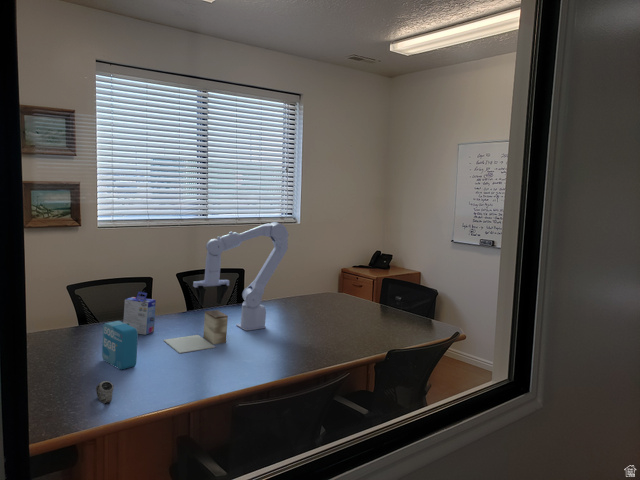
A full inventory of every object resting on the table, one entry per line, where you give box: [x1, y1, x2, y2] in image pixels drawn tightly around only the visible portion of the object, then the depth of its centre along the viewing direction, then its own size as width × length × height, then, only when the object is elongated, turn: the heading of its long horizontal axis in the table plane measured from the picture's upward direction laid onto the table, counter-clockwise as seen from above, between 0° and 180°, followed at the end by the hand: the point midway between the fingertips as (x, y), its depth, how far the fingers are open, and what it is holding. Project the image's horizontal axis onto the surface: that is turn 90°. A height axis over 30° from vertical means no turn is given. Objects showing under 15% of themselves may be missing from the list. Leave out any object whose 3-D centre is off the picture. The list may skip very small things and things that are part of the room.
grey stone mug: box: [95, 380, 115, 404], centre depth 119 cm, size 4×6×5 cm, turn 48°
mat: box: [163, 334, 216, 354], centre depth 164 cm, size 13×14×1 cm
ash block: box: [202, 309, 229, 346], centre depth 170 cm, size 5×8×10 cm, turn 40°
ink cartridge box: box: [123, 291, 157, 336], centre depth 172 cm, size 10×6×14 cm, turn 78°
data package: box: [101, 320, 139, 371], centre depth 142 cm, size 12×4×12 cm, turn 53°
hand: (209, 304), depth 183 cm, fingers open, 7 cm apart
